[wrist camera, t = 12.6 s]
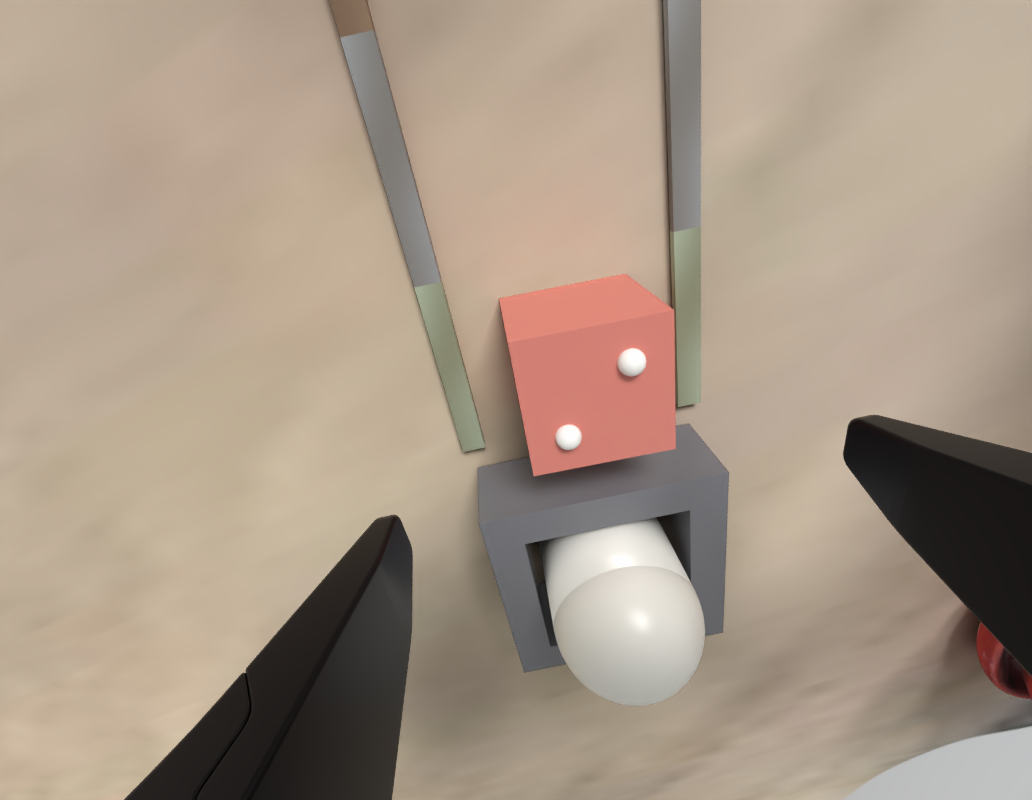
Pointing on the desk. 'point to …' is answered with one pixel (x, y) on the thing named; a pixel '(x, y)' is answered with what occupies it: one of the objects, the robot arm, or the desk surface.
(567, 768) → the desk surface
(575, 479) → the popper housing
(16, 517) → the desk surface
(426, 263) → the track
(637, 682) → the dome
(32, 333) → the desk surface
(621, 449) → the die
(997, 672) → the plant pot
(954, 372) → the desk surface
